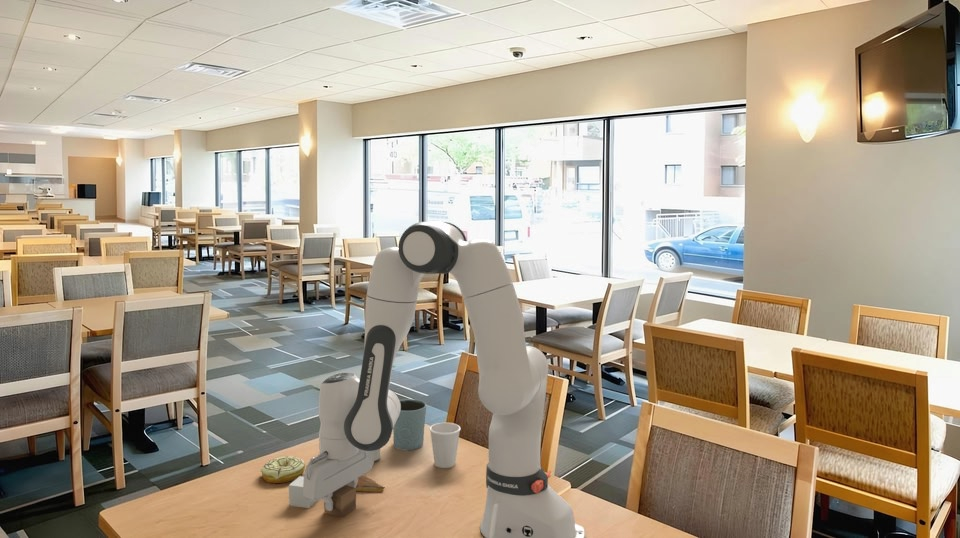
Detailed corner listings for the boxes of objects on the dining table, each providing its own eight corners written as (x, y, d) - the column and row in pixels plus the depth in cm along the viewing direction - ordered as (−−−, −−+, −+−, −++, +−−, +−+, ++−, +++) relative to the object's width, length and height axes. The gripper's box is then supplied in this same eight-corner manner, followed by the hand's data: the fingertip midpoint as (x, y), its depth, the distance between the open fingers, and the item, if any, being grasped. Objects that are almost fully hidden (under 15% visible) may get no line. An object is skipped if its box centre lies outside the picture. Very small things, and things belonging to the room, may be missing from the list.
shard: (385, 493, 156) (385, 486, 156) (358, 503, 151) (357, 495, 150) (361, 478, 164) (361, 471, 164) (334, 487, 159) (334, 480, 158)
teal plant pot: (413, 435, 192) (413, 397, 191) (433, 445, 185) (433, 405, 183) (384, 443, 186) (384, 403, 185) (403, 454, 178) (403, 412, 177)
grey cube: (319, 498, 152) (318, 478, 151) (308, 508, 147) (308, 487, 146) (300, 496, 153) (299, 476, 152) (289, 505, 148) (288, 485, 148)
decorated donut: (252, 477, 163) (252, 463, 163) (288, 464, 172) (288, 450, 171) (277, 489, 157) (277, 474, 156) (313, 474, 165) (312, 460, 165)
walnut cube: (355, 508, 147) (355, 487, 147) (341, 518, 143) (341, 496, 142) (339, 503, 149) (338, 483, 149) (324, 512, 145) (324, 491, 145)
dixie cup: (423, 461, 174) (423, 425, 172) (450, 455, 178) (450, 420, 177) (439, 472, 167) (439, 435, 166) (466, 465, 171) (466, 429, 170)
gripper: (317, 464, 134) (318, 526, 135) (378, 433, 152) (378, 489, 153) (295, 458, 137) (296, 519, 138) (357, 428, 155) (357, 483, 156)
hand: (340, 503), depth 146 cm, fingers open, 5 cm apart
